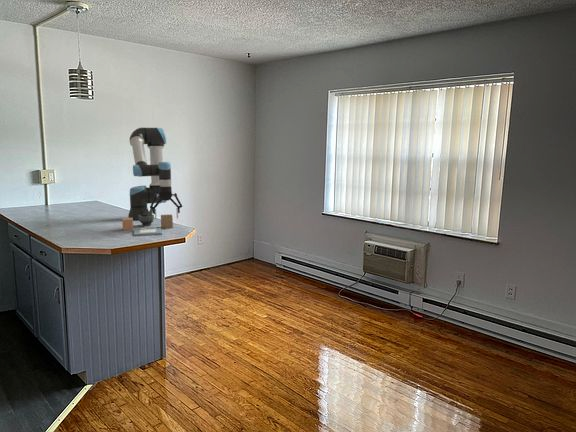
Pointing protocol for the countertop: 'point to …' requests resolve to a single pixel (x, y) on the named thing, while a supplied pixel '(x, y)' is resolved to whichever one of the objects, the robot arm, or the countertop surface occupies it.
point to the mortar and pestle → (147, 218)
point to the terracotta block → (127, 224)
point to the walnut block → (166, 221)
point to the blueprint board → (147, 231)
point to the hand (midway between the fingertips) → (166, 218)
